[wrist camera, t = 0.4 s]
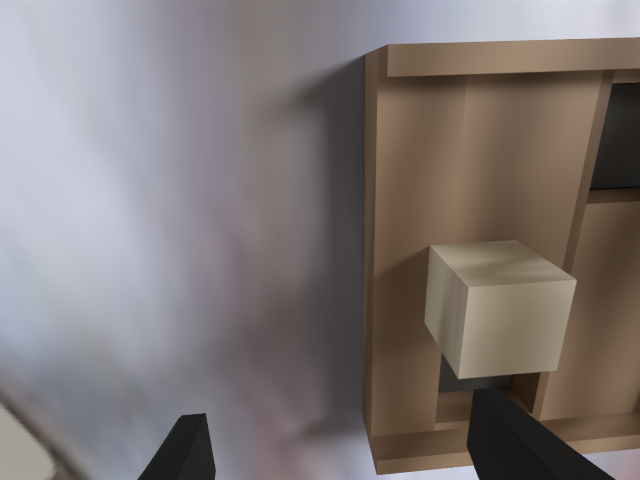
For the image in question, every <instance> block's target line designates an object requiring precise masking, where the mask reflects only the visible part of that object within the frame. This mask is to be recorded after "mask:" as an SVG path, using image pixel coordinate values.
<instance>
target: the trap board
mask: <svg viewBox="0 0 640 480" xmlns="http://www.w3.org/2000/svg"><path fill="white" fill-rule="evenodd" d="M638 82H640V37H636V38H600V39H565V40H529V41H494V42H459V43H423V44H388V45H386V46H383V47H381V48H379V49H376V50H374V51H371V52H369V53H367V54H365V159H364V290H363V420H364V424H365V428H366V432H367V436H368V440H369V445H370V449H371V453H372V457H373V461H374V465H375V470H376V474H377V475H383V474H393V473H403V472H412V471H422V470H432V469H442V468H452V467H461V466H471V465H473V462H472V460H471V457H470V454H469V451H468V449H467V446H466V444H467V437H468V429H469V422H470V414H471V407H472V399H473V392H474V389H483V388H494V387H496V388H497V389H498V390H500V391H501V392H502V393H503V394H505V395H506V396H507V397H508V398H510V399H511V400H512V401H513V402H515V403H516V404H517V405H518V406H520V407H521V408H522V409H523V410H525V411H526V412H527V413H528V414H530V415H531V416H532V417H533V418H535V419H536V420H537V421H538V422H540V423H541V424H542V425H543V426H545V427H546V428H547V429H548V430H550V431H551V432H552V433H553V434H555V435H556V436H557V437H559V438H560V439H561V440H562V441H564V442H565V443H566V444H568V445H569V446H570V447H572V448H573V449H574V450H575V451H577V452H578V453H579V454H588V453H598V452H608V451H618V450H628V449H637V448H640V84H621V85H612V83H638ZM508 240H517V241H519V242H520V243H522V244H523V245H525V246H526V247H528V248H529V249H531V250H532V251H534V252H535V253H537V254H538V255H540V256H541V257H543V258H545V259H546V260H548V261H549V262H551V263H552V264H554V265H555V266H557V267H558V268H560V269H561V270H563V271H564V272H566V273H567V274H569V275H570V276H572V277H574V278H575V279H577V282H576V286H575V291H574V295H573V300H572V304H571V309H570V313H569V318H568V322H567V327H566V331H565V336H564V340H563V344H562V349H561V353H560V358H559V362H558V367H557V370H556V371H545V372H533V373H522V374H510V375H499V376H487V377H476V378H464V379H458V378H457V376H456V374H455V373H454V371H453V369H452V368H451V366H450V364H449V363H448V361H447V359H446V358H445V356H444V354H443V353H442V351H441V349H440V348H439V346H438V344H437V343H436V341H435V339H434V338H433V336H432V334H431V333H430V331H429V329H428V328H427V326H426V324H425V323H424V320H425V306H426V293H427V279H428V265H429V251H430V245H445V244H461V243H477V242H493V241H508Z"/></svg>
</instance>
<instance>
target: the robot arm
mask: <svg viewBox="0 0 640 480" xmlns="http://www.w3.org/2000/svg"><path fill="white" fill-rule="evenodd" d="M466 446H467V449H468V451H469V454H470V457H471V460H472V462H473V465H474V468H475V470H476V473H477V475H478V478H479V480H615V479H614V478H613V477H611V476H610V475H608V474H607V473H606V472H604V471H603V470H601V469H600V468H599V467H597V466H596V465H594V464H593V463H592V462H590V461H589V460H588V459H586V458H585V457H583V456H582V455H581V454H579V453H578V452H577V451H575V450H574V449H573V448H572V447H570V446H569V445H568V444H566V443H565V442H564V441H562V440H561V439H560V438H559V437H557V436H556V435H555V434H553V433H552V432H551V431H550V430H548V429H547V428H546V427H545V426H543V425H542V424H541V423H540V422H538V421H537V420H536V419H535V418H533V417H532V416H531V415H530V414H528V413H527V412H526V411H525V410H523V409H522V408H521V407H520V406H518V405H517V404H516V403H515V402H513V401H512V400H511V399H510V398H508V397H507V396H506V395H505V394H503V393H502V392H501V391H500V390H498V389H497V388H496V387H494V388H483V389H474V392H473V399H472V407H471V414H470V422H469V429H468V437H467V444H466ZM215 473H216V469H215V464H214V458H213V452H212V447H211V441H210V435H209V430H208V424H207V418H206V413H203V414H192V415H182V416H181V417H180V418H179V419H178V420H177V422H176V423H175V425H174V427H173V428H172V430H171V431H170V433H169V434H168V436H167V437H166V439H165V440H164V442H163V444H162V445H161V447H160V448H159V450H158V451H157V452H156V454H155V455H154V457H153V458H152V460H151V461H150V463H149V464H148V466H147V467H146V469H145V470H144V471H143V473H142V474H141V475H140V477H139V478H138V480H215Z"/></svg>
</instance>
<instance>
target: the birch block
mask: <svg viewBox="0 0 640 480" xmlns="http://www.w3.org/2000/svg"><path fill="white" fill-rule="evenodd" d="M576 282H577V279H575V278H574V277H572V276H570V275H569V274H567V273H566V272H564V271H563V270H561V269H560V268H558V267H557V266H555V265H554V264H552V263H551V262H549V261H548V260H546V259H545V258H543V257H541V256H540V255H538V254H537V253H535V252H534V251H532V250H531V249H529V248H528V247H526V246H525V245H523V244H522V243H520V242H519V241H517V240H508V241H493V242H477V243H461V244H445V245H430V251H429V265H428V279H427V293H426V306H425V320H424V323H425V324H426V326H427V328H428V329H429V331H430V333H431V334H432V336H433V338H434V339H435V341H436V343H437V344H438V346H439V348H440V349H441V351H442V353H443V354H444V356H445V358H446V359H447V361H448V363H449V364H450V366H451V368H452V369H453V371H454V373H455V374H456V376H457V378H458V379H464V378H476V377H487V376H499V375H510V374H522V373H533V372H545V371H556V370H557V367H558V362H559V358H560V353H561V349H562V344H563V340H564V336H565V331H566V327H567V322H568V318H569V313H570V309H571V304H572V300H573V295H574V291H575V286H576Z"/></svg>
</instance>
